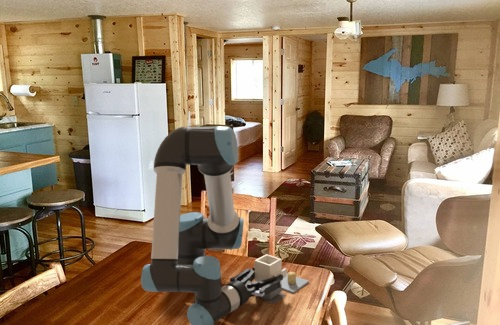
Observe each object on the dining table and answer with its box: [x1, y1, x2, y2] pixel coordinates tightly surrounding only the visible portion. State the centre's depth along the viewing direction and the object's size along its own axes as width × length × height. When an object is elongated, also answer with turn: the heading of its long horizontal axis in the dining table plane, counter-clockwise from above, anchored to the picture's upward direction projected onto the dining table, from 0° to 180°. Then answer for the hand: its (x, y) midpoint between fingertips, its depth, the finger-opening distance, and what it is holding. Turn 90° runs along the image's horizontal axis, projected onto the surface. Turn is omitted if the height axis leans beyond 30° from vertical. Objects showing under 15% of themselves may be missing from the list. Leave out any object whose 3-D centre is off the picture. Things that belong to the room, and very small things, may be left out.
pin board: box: [253, 271, 310, 294], centre depth 151 cm, size 18×10×5 cm, turn 50°
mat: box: [254, 292, 287, 305], centre depth 141 cm, size 10×7×1 cm
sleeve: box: [254, 253, 283, 299], centre depth 140 cm, size 6×6×12 cm
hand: (277, 269), depth 143 cm, fingers closed on sleeve, 6 cm apart
